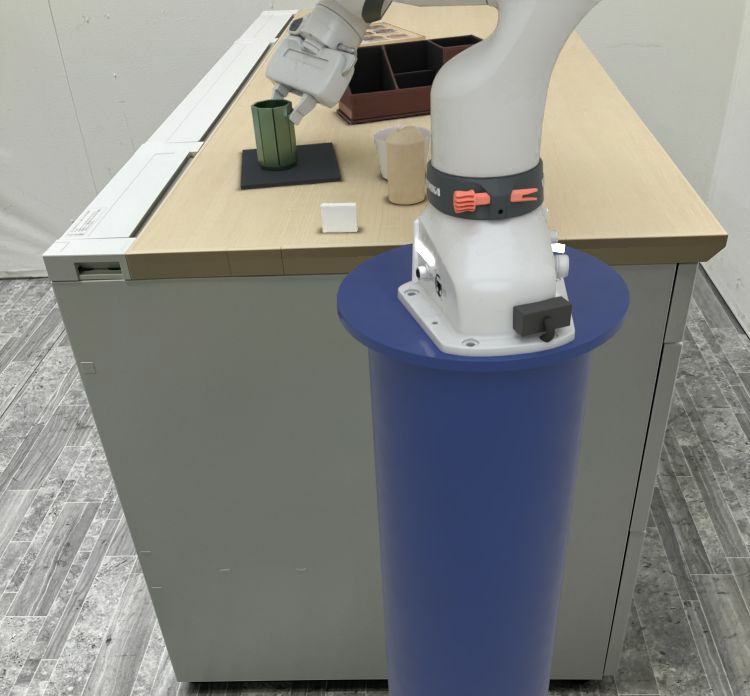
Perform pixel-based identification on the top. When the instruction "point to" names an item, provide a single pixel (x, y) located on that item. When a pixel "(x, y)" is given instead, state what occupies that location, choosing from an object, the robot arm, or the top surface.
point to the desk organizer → (397, 78)
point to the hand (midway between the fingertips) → (280, 117)
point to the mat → (311, 168)
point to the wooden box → (388, 35)
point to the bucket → (274, 134)
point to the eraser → (339, 217)
